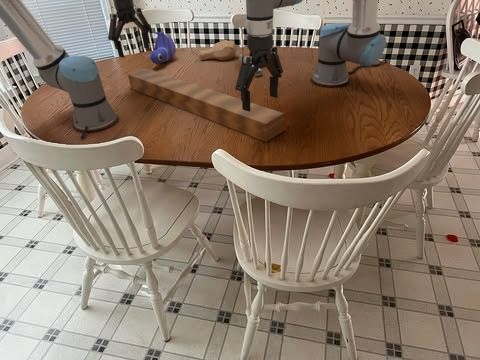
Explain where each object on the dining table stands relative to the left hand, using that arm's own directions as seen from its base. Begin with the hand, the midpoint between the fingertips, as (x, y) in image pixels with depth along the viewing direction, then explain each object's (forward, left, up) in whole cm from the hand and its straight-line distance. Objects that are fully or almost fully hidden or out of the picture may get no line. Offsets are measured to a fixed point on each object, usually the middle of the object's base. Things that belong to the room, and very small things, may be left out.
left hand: (134, 52), depth 151 cm
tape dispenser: (+17, -51, -15) cm, 56 cm away
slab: (-24, -27, -15) cm, 39 cm away
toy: (+32, -4, -15) cm, 36 cm away
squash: (+35, -33, -15) cm, 50 cm away
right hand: (-46, -52, -5) cm, 70 cm away
